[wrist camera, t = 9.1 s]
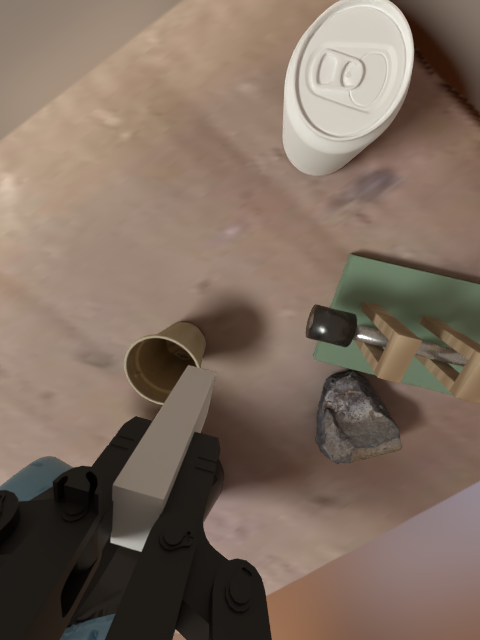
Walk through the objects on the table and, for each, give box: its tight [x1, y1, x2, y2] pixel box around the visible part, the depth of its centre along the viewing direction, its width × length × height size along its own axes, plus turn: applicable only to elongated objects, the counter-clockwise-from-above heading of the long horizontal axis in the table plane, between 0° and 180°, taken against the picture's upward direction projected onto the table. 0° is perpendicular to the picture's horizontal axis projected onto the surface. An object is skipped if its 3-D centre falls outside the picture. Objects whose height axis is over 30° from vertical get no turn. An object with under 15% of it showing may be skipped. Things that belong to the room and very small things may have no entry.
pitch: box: [313, 254, 480, 395], centre depth 32 cm, size 22×14×2 cm, turn 78°
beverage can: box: [283, 0, 414, 176], centre depth 22 cm, size 8×8×12 cm
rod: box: [306, 304, 468, 367], centre depth 28 cm, size 25×4×8 cm, turn 78°
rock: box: [316, 371, 402, 464], centre depth 37 cm, size 14×11×5 cm
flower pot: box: [124, 322, 206, 405], centre depth 34 cm, size 9×9×9 cm
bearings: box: [354, 301, 480, 404], centre depth 27 cm, size 9×4×10 cm, turn 78°
